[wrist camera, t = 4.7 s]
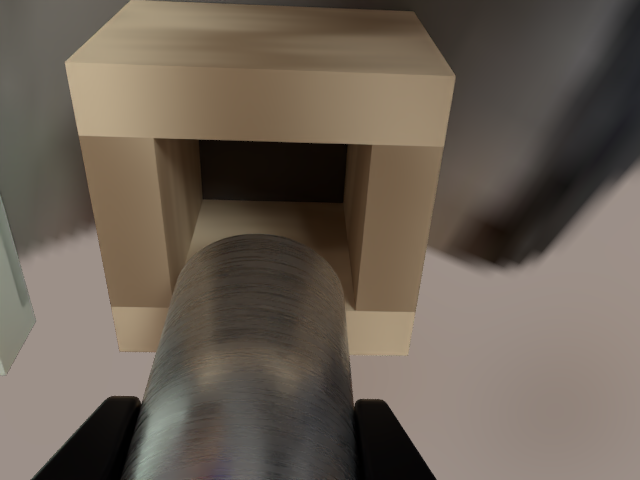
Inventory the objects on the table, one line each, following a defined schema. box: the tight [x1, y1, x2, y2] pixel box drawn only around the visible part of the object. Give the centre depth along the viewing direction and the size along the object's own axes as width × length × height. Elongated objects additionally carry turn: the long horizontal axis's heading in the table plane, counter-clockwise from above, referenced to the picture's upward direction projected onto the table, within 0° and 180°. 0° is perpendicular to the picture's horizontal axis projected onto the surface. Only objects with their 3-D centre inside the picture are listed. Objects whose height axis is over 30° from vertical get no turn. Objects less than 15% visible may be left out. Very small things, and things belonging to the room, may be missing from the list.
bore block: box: [65, 0, 456, 356], centre depth 15 cm, size 7×7×5 cm
